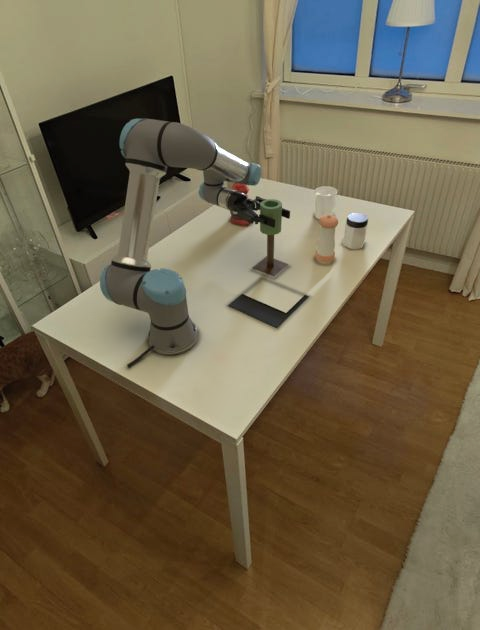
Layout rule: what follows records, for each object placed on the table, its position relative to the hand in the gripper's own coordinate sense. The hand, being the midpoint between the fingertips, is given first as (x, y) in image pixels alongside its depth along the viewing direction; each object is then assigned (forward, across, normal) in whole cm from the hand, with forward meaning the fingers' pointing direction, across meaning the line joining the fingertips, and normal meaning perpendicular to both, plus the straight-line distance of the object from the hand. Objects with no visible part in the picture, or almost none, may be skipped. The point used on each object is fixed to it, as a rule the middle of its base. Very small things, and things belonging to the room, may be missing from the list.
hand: (281, 219), depth 148 cm
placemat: (+7, +16, -23) cm, 29 cm away
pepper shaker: (+7, -19, -23) cm, 30 cm away
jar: (+10, -36, -23) cm, 44 cm away
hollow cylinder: (-5, 0, -6) cm, 8 cm away
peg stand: (-5, 0, -23) cm, 23 cm away
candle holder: (-13, -49, -22) cm, 55 cm away
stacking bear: (-40, -22, -23) cm, 51 cm away
